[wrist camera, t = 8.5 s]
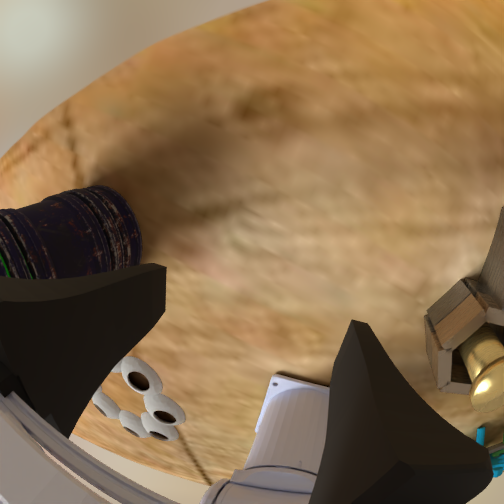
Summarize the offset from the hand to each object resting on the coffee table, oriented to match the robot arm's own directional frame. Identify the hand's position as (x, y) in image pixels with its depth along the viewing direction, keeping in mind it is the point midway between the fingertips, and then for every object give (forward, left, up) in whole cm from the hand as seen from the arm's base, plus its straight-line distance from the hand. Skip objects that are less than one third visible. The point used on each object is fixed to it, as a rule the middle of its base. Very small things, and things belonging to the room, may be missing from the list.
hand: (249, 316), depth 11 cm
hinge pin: (-3, -15, -10) cm, 18 cm away
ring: (-26, +17, -11) cm, 33 cm away
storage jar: (-4, +17, -11) cm, 20 cm away
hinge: (0, -18, -10) cm, 21 cm away
